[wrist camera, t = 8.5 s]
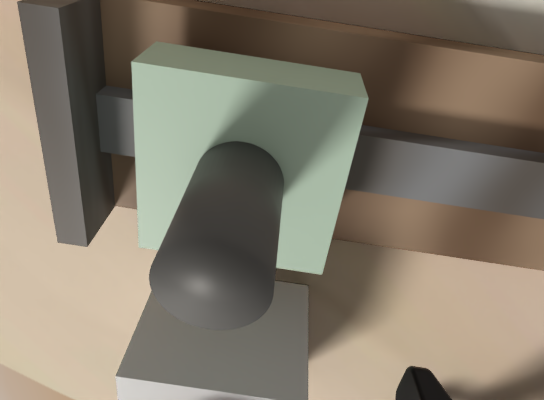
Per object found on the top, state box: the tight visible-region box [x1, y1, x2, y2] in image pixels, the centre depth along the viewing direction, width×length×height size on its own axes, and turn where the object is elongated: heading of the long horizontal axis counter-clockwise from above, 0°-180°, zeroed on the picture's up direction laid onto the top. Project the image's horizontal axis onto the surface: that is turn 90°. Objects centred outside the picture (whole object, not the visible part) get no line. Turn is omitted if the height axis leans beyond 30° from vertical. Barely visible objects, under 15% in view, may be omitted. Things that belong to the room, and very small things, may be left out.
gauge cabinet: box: [116, 281, 308, 400], centre depth 23 cm, size 8×8×7 cm
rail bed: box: [17, 0, 544, 271], centre depth 17 cm, size 24×9×4 cm, turn 82°
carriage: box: [131, 41, 369, 330], centre depth 14 cm, size 7×7×8 cm
